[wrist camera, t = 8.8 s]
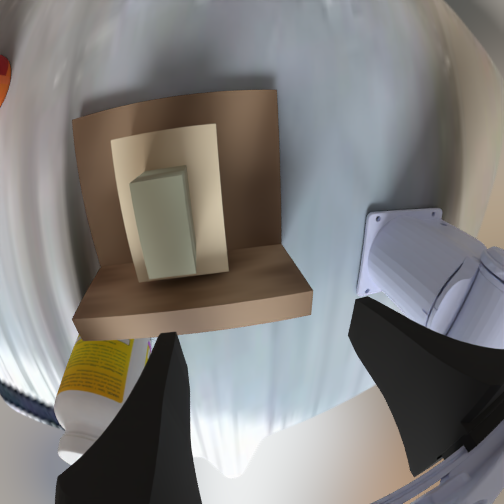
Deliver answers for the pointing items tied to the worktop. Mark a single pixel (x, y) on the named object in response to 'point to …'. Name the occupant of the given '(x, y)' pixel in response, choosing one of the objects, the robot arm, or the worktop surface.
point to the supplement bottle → (96, 389)
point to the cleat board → (234, 212)
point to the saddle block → (172, 202)
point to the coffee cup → (4, 77)
